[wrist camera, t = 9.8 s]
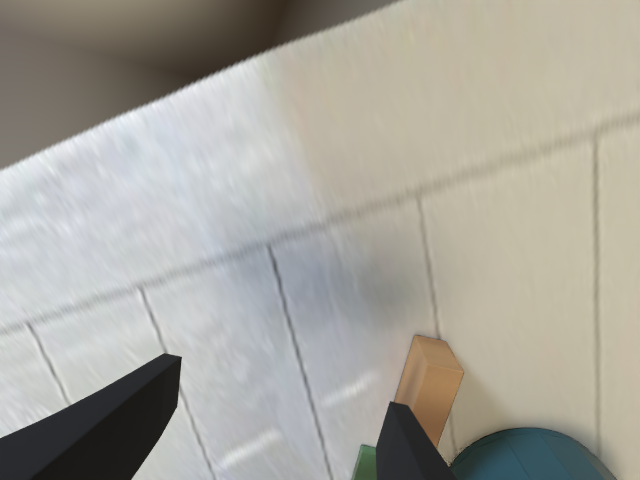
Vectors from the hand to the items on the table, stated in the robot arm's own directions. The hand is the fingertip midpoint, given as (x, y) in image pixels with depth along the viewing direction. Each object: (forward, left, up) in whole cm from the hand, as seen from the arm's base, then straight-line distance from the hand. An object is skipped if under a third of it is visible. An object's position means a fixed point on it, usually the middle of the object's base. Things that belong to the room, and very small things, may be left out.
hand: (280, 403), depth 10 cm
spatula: (-10, -9, -10) cm, 17 cm away
